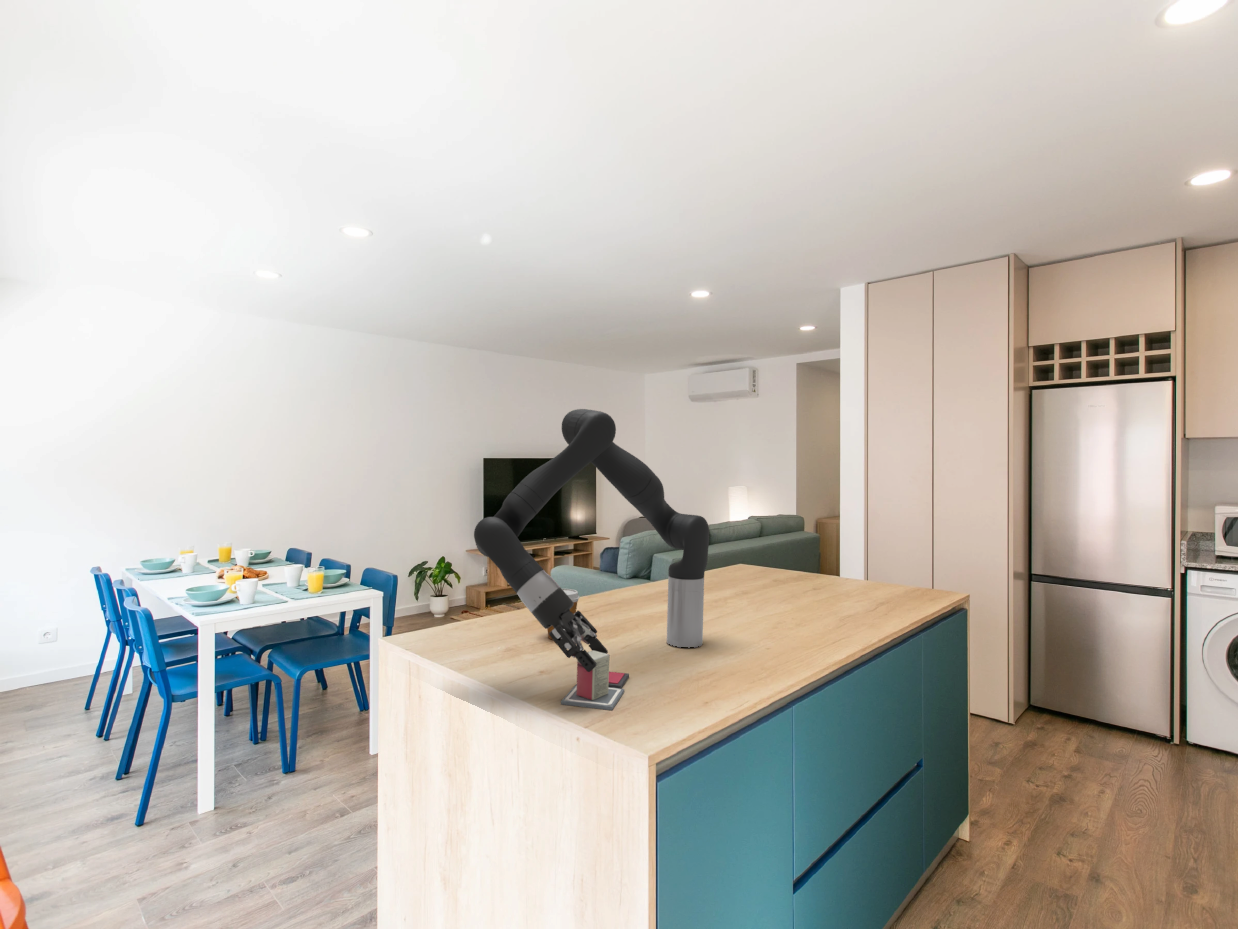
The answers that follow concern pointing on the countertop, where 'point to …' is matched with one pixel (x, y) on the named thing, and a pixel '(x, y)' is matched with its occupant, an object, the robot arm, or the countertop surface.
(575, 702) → the board
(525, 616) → the countertop surface
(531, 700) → the countertop surface
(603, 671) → the small box
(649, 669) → the countertop surface
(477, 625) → the countertop surface
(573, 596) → the disposable coffee cup
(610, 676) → the ink pad
